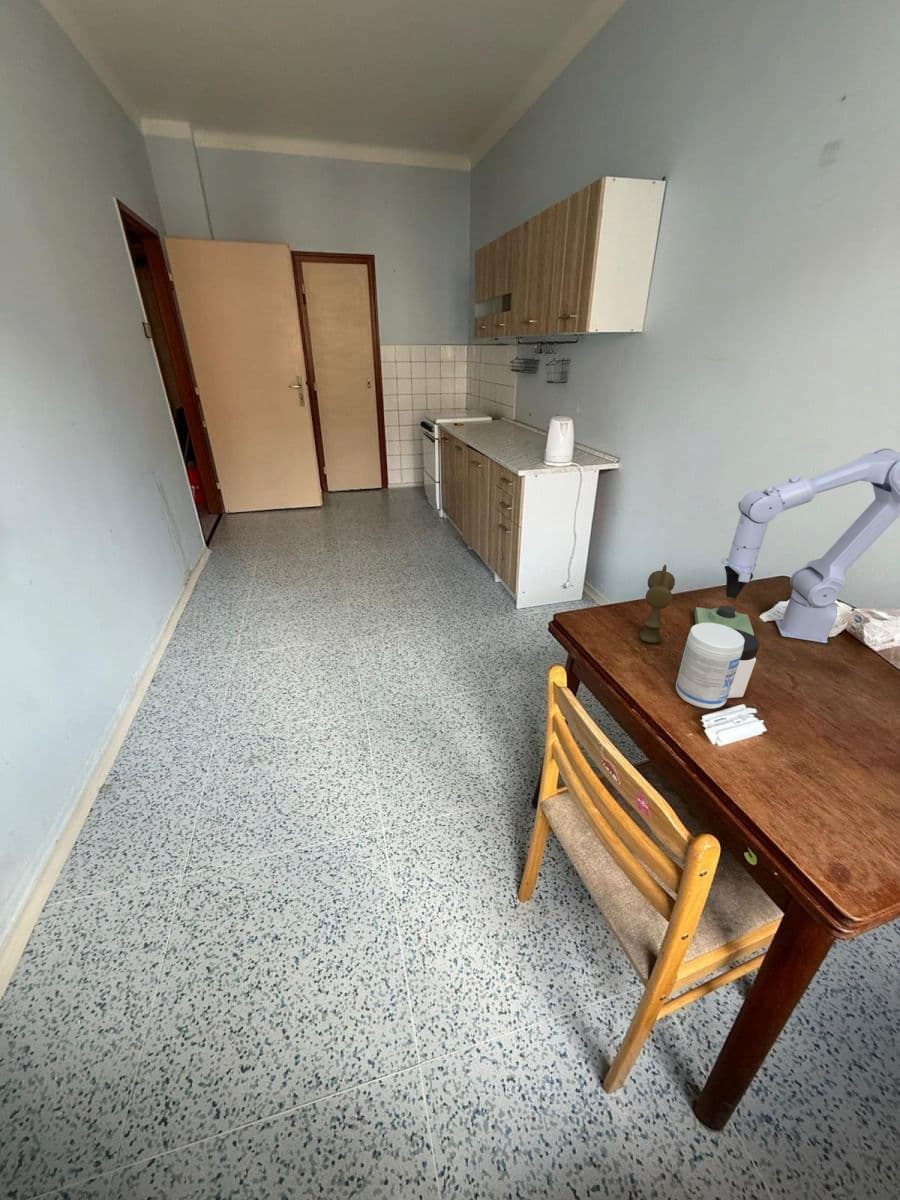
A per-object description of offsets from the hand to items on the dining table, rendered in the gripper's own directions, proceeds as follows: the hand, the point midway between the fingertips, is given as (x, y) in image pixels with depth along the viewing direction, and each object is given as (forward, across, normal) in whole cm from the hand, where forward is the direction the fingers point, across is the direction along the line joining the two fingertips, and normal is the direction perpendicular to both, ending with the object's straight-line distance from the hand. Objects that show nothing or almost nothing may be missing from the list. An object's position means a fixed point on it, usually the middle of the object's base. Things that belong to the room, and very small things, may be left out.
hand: (730, 596), depth 115 cm
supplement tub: (+9, +31, -7) cm, 33 cm away
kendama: (+9, +12, -17) cm, 23 cm away
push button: (+5, 0, 0) cm, 5 cm away
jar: (+9, +26, -3) cm, 28 cm away
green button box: (+9, 0, 0) cm, 9 cm away
